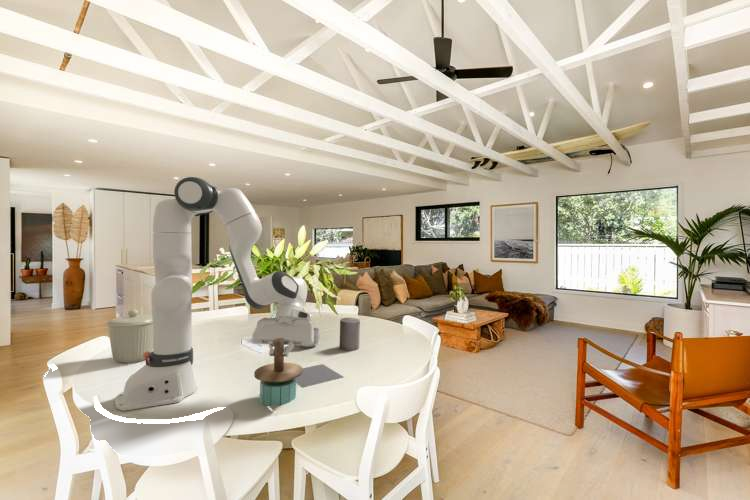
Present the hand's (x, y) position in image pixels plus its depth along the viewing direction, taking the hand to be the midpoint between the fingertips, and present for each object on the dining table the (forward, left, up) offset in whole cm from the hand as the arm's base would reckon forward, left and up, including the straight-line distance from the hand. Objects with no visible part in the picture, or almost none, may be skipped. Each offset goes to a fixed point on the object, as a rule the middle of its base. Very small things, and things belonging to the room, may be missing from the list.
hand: (278, 355), depth 113 cm
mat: (+18, +11, -14) cm, 26 cm away
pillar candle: (+49, +34, -14) cm, 62 cm away
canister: (-36, +70, -14) cm, 80 cm away
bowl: (0, 0, -14) cm, 14 cm away
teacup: (+35, +49, -14) cm, 62 cm away
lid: (0, 0, -6) cm, 6 cm away
